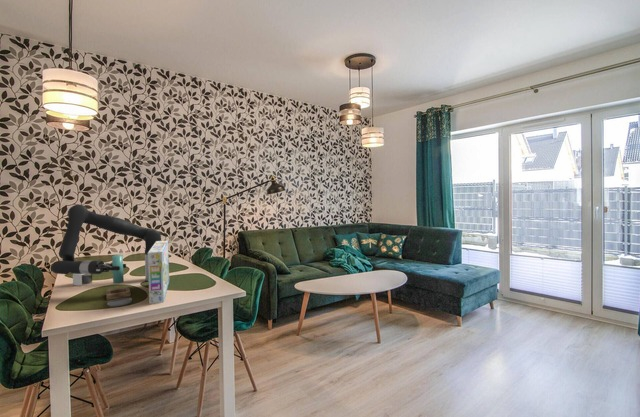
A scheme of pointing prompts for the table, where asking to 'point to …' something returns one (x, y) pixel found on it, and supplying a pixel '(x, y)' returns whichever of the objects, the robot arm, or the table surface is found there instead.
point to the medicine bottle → (82, 279)
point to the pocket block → (118, 293)
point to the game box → (158, 272)
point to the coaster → (119, 302)
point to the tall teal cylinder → (118, 274)
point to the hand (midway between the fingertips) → (122, 267)
